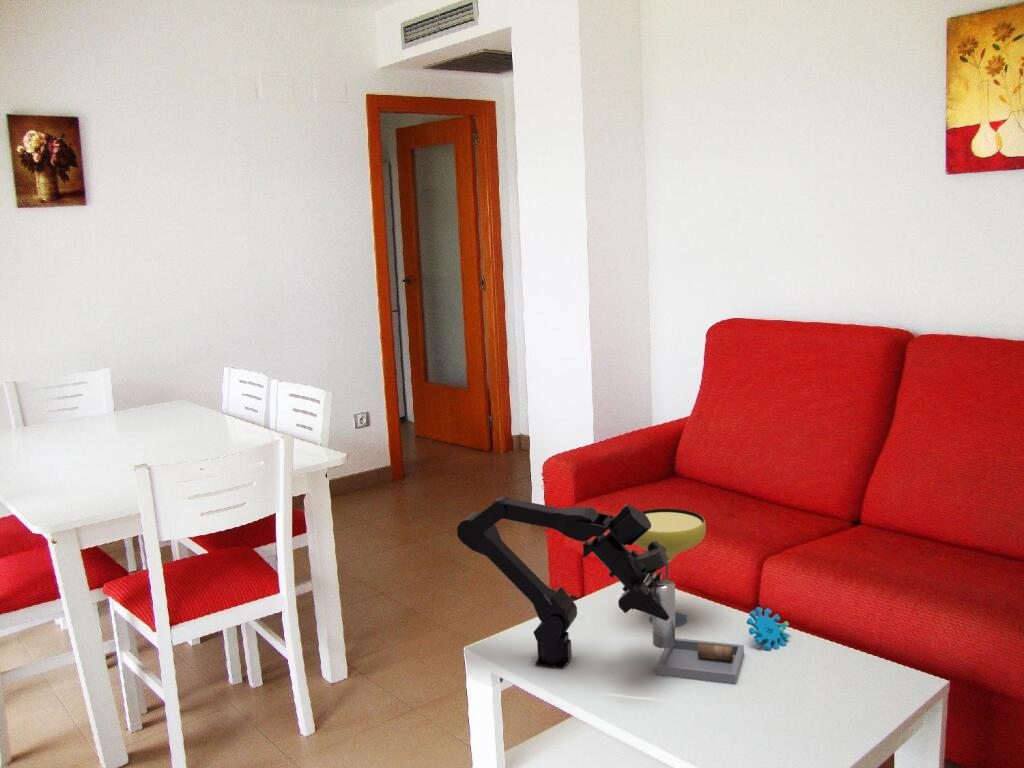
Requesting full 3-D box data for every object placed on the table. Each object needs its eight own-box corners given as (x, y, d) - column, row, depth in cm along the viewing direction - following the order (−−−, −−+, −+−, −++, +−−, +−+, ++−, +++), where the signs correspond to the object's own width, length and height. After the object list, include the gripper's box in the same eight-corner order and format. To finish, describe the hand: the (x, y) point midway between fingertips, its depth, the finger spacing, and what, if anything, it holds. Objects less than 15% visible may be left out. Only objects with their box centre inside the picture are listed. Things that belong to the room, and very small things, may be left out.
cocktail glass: (669, 600, 236) (667, 503, 232) (723, 623, 221) (722, 520, 217) (613, 620, 226) (610, 519, 222) (666, 645, 211) (664, 538, 207)
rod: (697, 660, 203) (697, 649, 202) (700, 651, 206) (699, 640, 204) (731, 664, 201) (730, 652, 199) (733, 655, 203) (732, 643, 202)
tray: (656, 677, 197) (656, 665, 197) (669, 648, 210) (669, 637, 210) (735, 686, 192) (735, 674, 191) (743, 656, 204) (743, 645, 204)
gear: (761, 650, 203) (743, 607, 209) (746, 662, 207) (728, 619, 213) (800, 645, 208) (781, 603, 214) (785, 656, 212) (767, 615, 218)
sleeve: (654, 648, 195) (654, 588, 193) (651, 639, 200) (650, 580, 197) (677, 648, 195) (676, 587, 193) (673, 638, 200) (672, 579, 197)
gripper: (633, 549, 186) (690, 609, 184) (653, 520, 203) (705, 574, 201) (595, 583, 190) (650, 642, 188) (617, 552, 207) (668, 605, 206)
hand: (670, 614), depth 196 cm, fingers closed on sleeve, 5 cm apart
